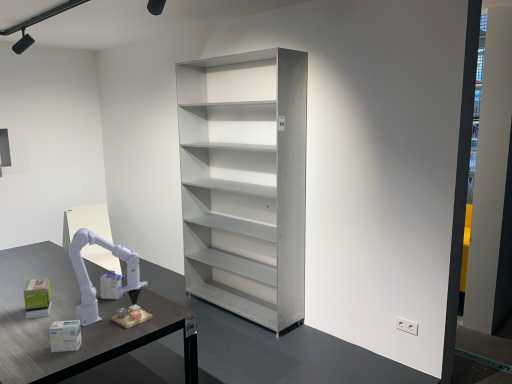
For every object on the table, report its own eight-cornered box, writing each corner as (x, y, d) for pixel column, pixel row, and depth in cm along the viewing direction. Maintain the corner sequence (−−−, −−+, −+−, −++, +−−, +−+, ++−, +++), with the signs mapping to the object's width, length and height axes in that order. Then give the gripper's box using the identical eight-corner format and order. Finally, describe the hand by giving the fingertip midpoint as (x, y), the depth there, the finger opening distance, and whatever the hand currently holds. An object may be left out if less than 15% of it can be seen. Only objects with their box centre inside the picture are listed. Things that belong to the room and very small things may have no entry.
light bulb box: (82, 342, 180) (80, 319, 179) (78, 351, 174) (76, 326, 172) (55, 344, 179) (53, 320, 177) (50, 353, 172) (48, 328, 170)
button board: (126, 328, 193) (126, 325, 193) (111, 319, 201) (111, 316, 201) (152, 318, 204) (152, 315, 203) (136, 310, 212) (136, 307, 212)
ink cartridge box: (122, 295, 230) (121, 270, 227) (118, 299, 224) (116, 273, 222) (105, 294, 231) (104, 269, 229) (100, 298, 226) (99, 272, 223)
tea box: (30, 306, 215) (28, 279, 213) (52, 304, 219) (50, 276, 216) (25, 319, 201) (23, 290, 199) (49, 316, 205) (46, 287, 202)
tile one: (134, 320, 198) (134, 315, 197) (129, 317, 200) (129, 312, 200) (141, 317, 201) (141, 312, 200) (136, 315, 203) (136, 310, 203)
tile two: (133, 314, 204) (133, 309, 204) (128, 311, 207) (128, 306, 206) (140, 311, 207) (140, 306, 207) (136, 309, 210) (135, 304, 209)
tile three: (120, 317, 199) (120, 312, 198) (115, 315, 201) (115, 310, 201) (128, 314, 202) (127, 309, 201) (123, 312, 204) (123, 307, 204)
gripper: (124, 283, 196) (125, 310, 198) (150, 275, 207) (151, 301, 209) (116, 279, 200) (117, 306, 203) (142, 271, 211) (143, 297, 213)
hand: (134, 303), depth 206 cm, fingers closed
